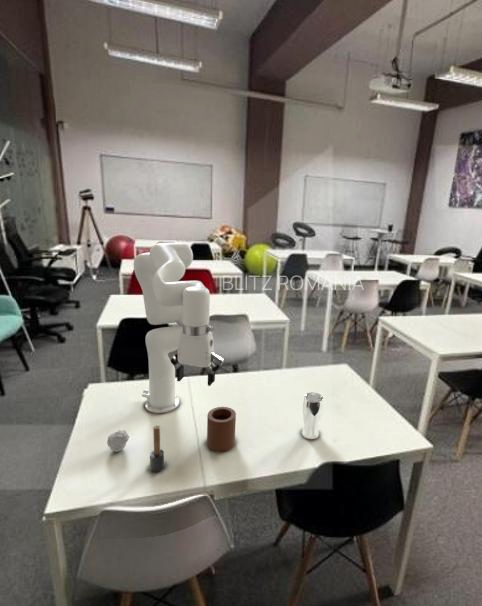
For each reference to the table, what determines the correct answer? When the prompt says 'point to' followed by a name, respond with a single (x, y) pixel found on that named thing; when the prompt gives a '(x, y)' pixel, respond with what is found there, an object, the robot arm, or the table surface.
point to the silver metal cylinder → (312, 414)
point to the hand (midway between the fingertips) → (195, 381)
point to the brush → (156, 452)
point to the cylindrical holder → (221, 429)
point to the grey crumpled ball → (118, 440)
